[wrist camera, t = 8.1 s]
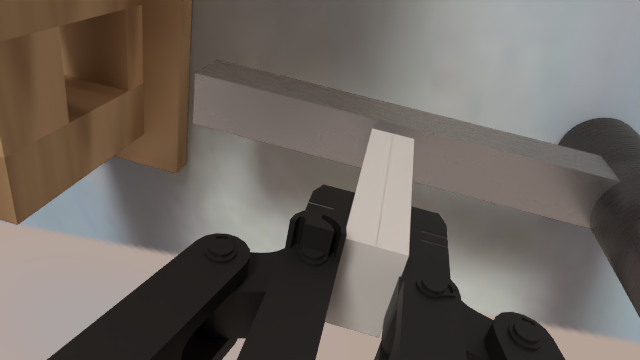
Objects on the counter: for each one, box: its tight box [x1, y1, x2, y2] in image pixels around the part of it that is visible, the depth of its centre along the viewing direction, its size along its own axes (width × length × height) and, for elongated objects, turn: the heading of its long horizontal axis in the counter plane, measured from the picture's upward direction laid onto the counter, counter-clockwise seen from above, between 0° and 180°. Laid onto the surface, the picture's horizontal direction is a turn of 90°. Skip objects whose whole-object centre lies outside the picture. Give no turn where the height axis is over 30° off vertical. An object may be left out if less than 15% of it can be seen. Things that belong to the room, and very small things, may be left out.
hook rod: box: [193, 60, 640, 317], centre depth 17 cm, size 20×4×12 cm, turn 79°
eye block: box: [0, 0, 192, 225], centre depth 20 cm, size 8×14×10 cm, turn 169°
